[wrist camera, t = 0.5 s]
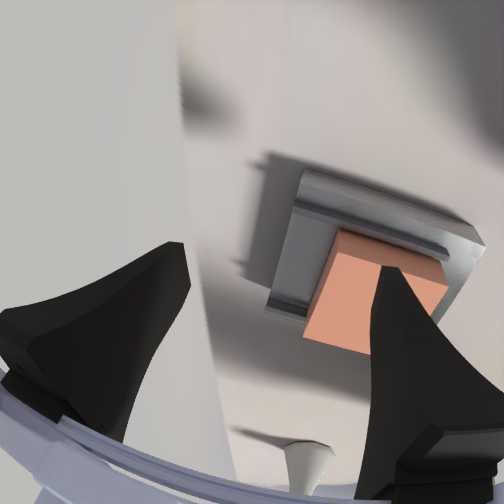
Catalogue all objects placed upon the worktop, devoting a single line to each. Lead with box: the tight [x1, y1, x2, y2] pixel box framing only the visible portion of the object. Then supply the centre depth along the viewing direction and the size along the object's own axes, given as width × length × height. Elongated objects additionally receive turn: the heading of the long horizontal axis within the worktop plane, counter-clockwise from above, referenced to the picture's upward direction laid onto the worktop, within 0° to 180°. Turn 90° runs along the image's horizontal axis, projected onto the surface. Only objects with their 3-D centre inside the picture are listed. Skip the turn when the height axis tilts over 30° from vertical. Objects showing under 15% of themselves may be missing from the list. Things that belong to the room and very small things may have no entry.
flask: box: [284, 442, 335, 496], centre depth 36 cm, size 7×7×10 cm
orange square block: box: [303, 228, 449, 355], centre depth 18 cm, size 6×6×2 cm
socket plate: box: [265, 168, 486, 325], centre depth 20 cm, size 12×10×3 cm
